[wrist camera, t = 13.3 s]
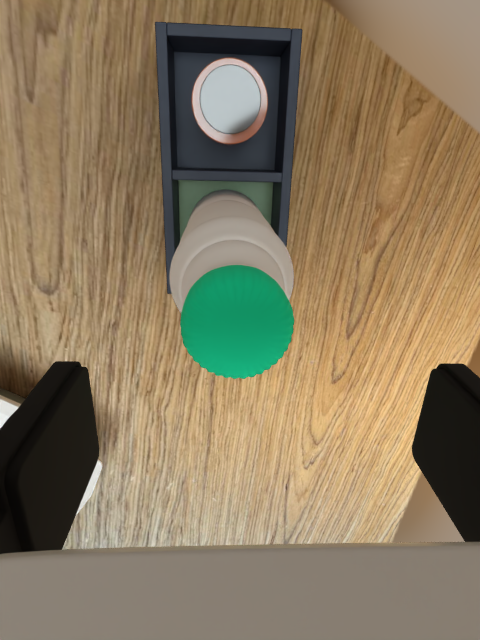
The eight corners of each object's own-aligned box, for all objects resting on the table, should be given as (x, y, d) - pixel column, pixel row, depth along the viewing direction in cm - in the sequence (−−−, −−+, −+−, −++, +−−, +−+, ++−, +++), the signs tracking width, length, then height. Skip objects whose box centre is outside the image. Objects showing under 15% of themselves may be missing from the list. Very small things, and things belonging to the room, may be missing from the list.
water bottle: (179, 245, 39) (124, 378, 16) (205, 176, 37) (185, 215, 14) (244, 272, 41) (279, 429, 18) (273, 207, 38) (359, 289, 15)
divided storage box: (173, 275, 42) (167, 293, 36) (165, 43, 34) (154, 21, 28) (274, 276, 42) (283, 294, 37) (288, 48, 34) (302, 28, 29)
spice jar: (197, 79, 34) (189, 50, 25) (257, 81, 34) (272, 54, 25) (197, 145, 36) (190, 142, 27) (254, 147, 36) (268, 145, 27)
